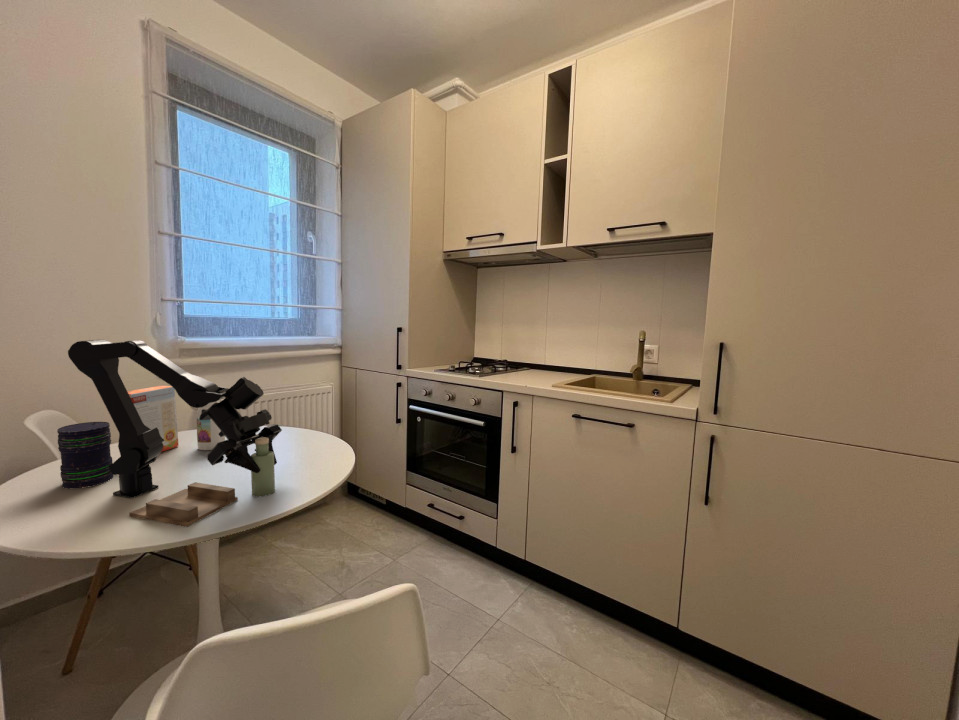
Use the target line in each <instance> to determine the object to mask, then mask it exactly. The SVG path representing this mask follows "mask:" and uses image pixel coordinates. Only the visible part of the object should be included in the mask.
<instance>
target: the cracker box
mask: <svg viewBox="0 0 959 720" xmlns="http://www.w3.org/2000/svg"><path fill="white" fill-rule="evenodd" d="M127 392H128V394H129V396H130V398H131V400H132V402H133V404H134V406H135V408H136V410H137V412H138V414H139V416H140V418H141V420H142V422H143V424H144V425H145V426H147V427H148V428H150V429H153V428H155V427H157V428H158V430H159V433H160V436H161V437H162V438H163V439H164V441H163V442H162V443H163V449H162V451H161V453H162V452H165V451H168V450H171V449H174V448H177V447H179V431H178V418H177V403H176V390H175V389H174V388H173V387H172V386H171V385H156V386H151V387H145V388H139V389H133V390H127Z"/></svg>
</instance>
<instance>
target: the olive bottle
mask: <svg viewBox="0 0 959 720" xmlns="http://www.w3.org/2000/svg"><path fill="white" fill-rule="evenodd" d="M268 443H269V438H266V437H263V438H257V439H255V444H256V445H255V444H254V445H255V449H256V451H255V452H254V453H252V454H251V455H250V456H251V457H252V458H253V460H254V461H255V462H256V464H257V465H258V467H259V469H260V472H259V473H255V472H253V471H250V474H251V476H250V477H251V495H252V496H253V497H256V496H257V498H258V497H259V496H261V497H266V496H265V495H267V496H270V495H272V494H273V493H274V492H275V491H276V482H275V480H276V479H275V478H276V475H275V465H274V454H275V452H272V451H269V447H268ZM269 494H270V495H269ZM259 498H260V497H259Z"/></svg>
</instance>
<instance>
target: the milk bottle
mask: <svg viewBox="0 0 959 720" xmlns="http://www.w3.org/2000/svg"><path fill="white" fill-rule="evenodd" d="M219 402H220V401H219V400H218V401H216V402H212V403H210V404H208V405H206V406H204V407H200V408H197V412H196V437H197V448H198V450H200V451H211V450H212V449H213V448H214V447H215V445H216V444H217V443H219V442H222V441H225V440H226V437H225V436H223V437H220V436H219V433H220V432H221V431H220V429H219V428H218V427H217V425H216V424H215V423H214V422H213V420H212V419H210V420H200V419H199V418H200V415H201V412H202V409H208V408H209V407H211V406H212V405H213V404H214V403H219Z"/></svg>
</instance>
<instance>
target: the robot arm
mask: <svg viewBox="0 0 959 720" xmlns="http://www.w3.org/2000/svg"><path fill="white" fill-rule="evenodd" d="M67 355H68V358H69V360H70V361H71V362H72V363H73V365H74V367H76V369H77V370H78V371H79V372H81V373H82V374H84V375H85V376H86V377H88V378H89V379H91V381H92V383H93V384H94V386H95V389H96V390H97V392H98V394H99V396H100V398H101V400H102V403H103V404H104V406H105V408H106V411H107V412H108V414H109V416H110V418H111V420H112V422H113V423H114V425H115V427H116V430H117V432H118V434H119V435H118V445H117V448H118V451H119V455H120V456H119V457H118V458H117V459H116V460H115V461H114V462H112V463H113V464H112V465H111V466H109V469H110V471H111V473H112V474H113V476H114V475H118V482H119V490H117V491H114V492H112V495H113V496H118V497H124V498H129V499H134V498H136V497H138V496H140V495H144V494H145V493H146V494H147V493H149V492H151V491H154V490H156V489H159V485H157V484H153V473H152V466H150V465H151V463H154V462H156V459H157V457H158V456H159V455H160V454H161V453H162V452H161V451H162V449H163V443H162V442H163V441H164V439H163V438H162V437H161V436H160V433H159V430H158V428H157V427H155V428H153V429H150V428H148V427H147V426H145V425H144V424H143V422H142V420H141V418H140V416H139V414H138V412H137V410H136V408H135V406H134V404H133V402H132V400H131V398H130V396H129V394H128V392H127V391H128V390H127V388H126V385H125V384H124V382H123V380H122V378H121V376H120V374H119V365H120V364H119V363H120V358H129V359H130V360H131V361H133V362H134V363H136V364H138V365H139V366H140V367H142V368H144V370H147V371H148V372H150V373H152V374H153V375H154V376H156V377H158V379H161V380H162V382H165V383H167V384H168V386H172V387H173V388H174V389H175V393H176V394H177V395H178V397H179V398H180V399H181V400H182V401H184V402H185V403H186V404H187V405H188V406H189V407H191V408H195V409H198V408H200V407H204V406H206V405H208V404H210V403H212V402H216V401H218V402H219V403H214V404H213V405H212V406H211V407H209V408H208V409H202V412H201V415H200V418H199V419H200V420H210V419H212V420H213V422H214V423H215V424H216V425H217V427H218V428H219V429H220V431H221V432H220V433H219V436H220V437H223V436H225V441H222V442H219V443H217V444H216V445H215V447H214V448H213V449H212V450H209V452H208V453H207V456H206V458H207V461H208V462H209V463H210V465H212V466H215V465H217V464H220V463H222V462H223V461H224V463H225V464H231V465H235V466H237V467H241V468H243V469H245V470H248V471H250V472H251V471H253V472H255V473H259V472H260V469H259V467H258V465H257V464H256V462H255V461H254V460H253V458H252V457H251V455H250V453H249V450H248V446H250V445H253V444H254V445H255V446H256V444H255V439H257V438H263V437H266V438H269V443H268V447H269V451H272V452H274V448H273V441H274V439H275V438H276V437H277V436H279V434H280V433H281V432H282V431H283V430H282V428H281V426H279V424H276V423H273V424H270V421H271V420H272V414H271V413H270V412H269V411H268V410H267V409H266V408H265V409H262V410H260V411H257V412H256V414H255V415H251V416H248V415H244V416H242V414H241V413H240V412H239V411H238V410H247V409H248V408H249V407H251V406H252V405H253V404H254V403H256V402H257V401H258V400H260V399H261V397H263V396H264V391H263V388H262V387H261V386H259V385H258V384H257V383H255V382H254V381H252V380H250V379H247V378H246V377H245V376H243V377H240V378H239V379H238V380H237V381H236V382H235V383H234V384H233V385H232V386H231V387H225V386H224V387H222V386H219V385H217V384H216V383H214V382H212V381H210V380H209V379H206V378H204V377H201V376H197V375H196V374H195V375H194V374H192V373H190V372H188V371H186V370H185V369H183V368H181V367H180V366H178V365H177V364H176V363H174V362H172V361H171V360H170V359H168V358H166V357H165V356H164V355H162V354H160V352H158V351H157V350H155V349H153V348H152V347H150V346H149V345H148V344H147V343H146V342H145V341H143V340H139V339H137V340H135V339H134V340H126V341H125V340H124V341H119V342H112V341H109V340H105V339H89V340H80V341H76V342H74V343H72V345H71V346H70V347H69V349H68V350H67ZM220 400H221V401H220ZM269 424H270V425H269ZM265 425H266V426H265ZM263 426H265V427H263ZM261 427H263V428H262V429H261ZM257 433H258V434H257ZM254 452H256V448H255V449H254ZM225 457H226V459H225V460H224V458H225ZM277 463H278V462H277V459H276V454H275V452H274V466H276V464H277Z"/></svg>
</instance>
